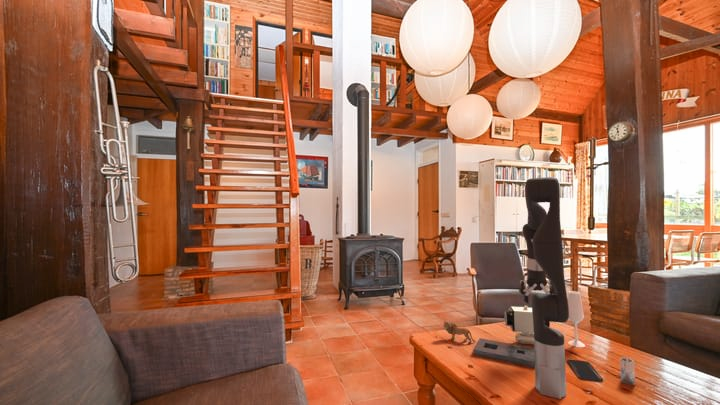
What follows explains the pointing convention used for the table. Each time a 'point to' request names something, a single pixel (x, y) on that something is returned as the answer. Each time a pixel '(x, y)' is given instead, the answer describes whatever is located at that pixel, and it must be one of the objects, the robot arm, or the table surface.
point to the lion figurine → (457, 331)
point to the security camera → (521, 323)
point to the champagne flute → (575, 314)
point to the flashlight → (627, 371)
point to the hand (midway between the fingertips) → (536, 303)
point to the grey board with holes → (505, 352)
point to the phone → (584, 370)
